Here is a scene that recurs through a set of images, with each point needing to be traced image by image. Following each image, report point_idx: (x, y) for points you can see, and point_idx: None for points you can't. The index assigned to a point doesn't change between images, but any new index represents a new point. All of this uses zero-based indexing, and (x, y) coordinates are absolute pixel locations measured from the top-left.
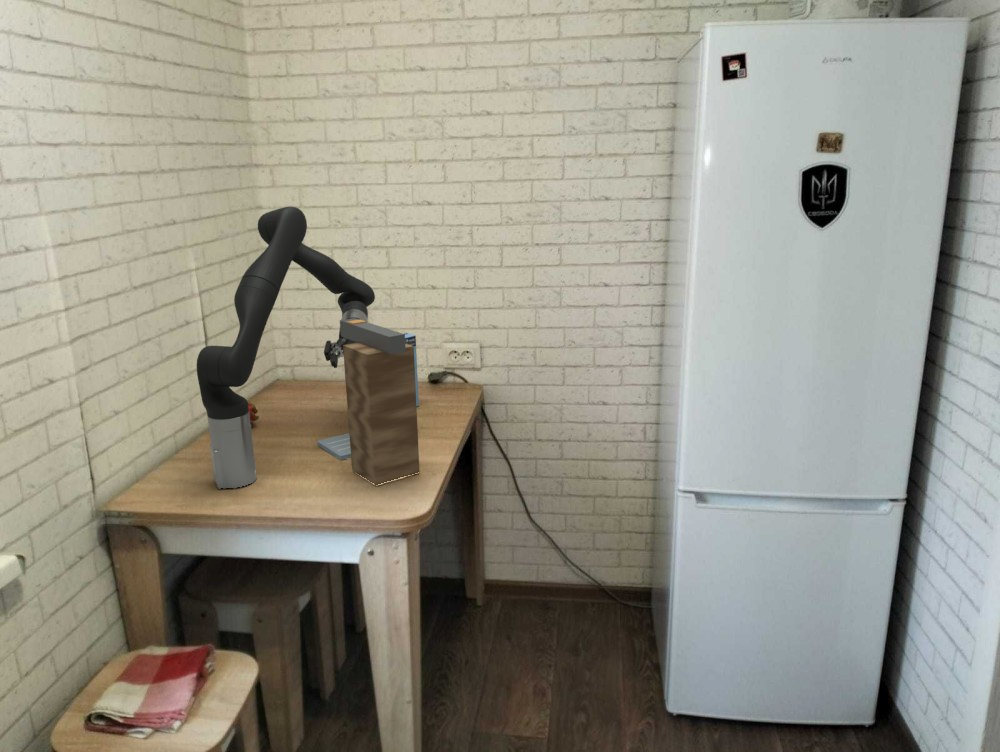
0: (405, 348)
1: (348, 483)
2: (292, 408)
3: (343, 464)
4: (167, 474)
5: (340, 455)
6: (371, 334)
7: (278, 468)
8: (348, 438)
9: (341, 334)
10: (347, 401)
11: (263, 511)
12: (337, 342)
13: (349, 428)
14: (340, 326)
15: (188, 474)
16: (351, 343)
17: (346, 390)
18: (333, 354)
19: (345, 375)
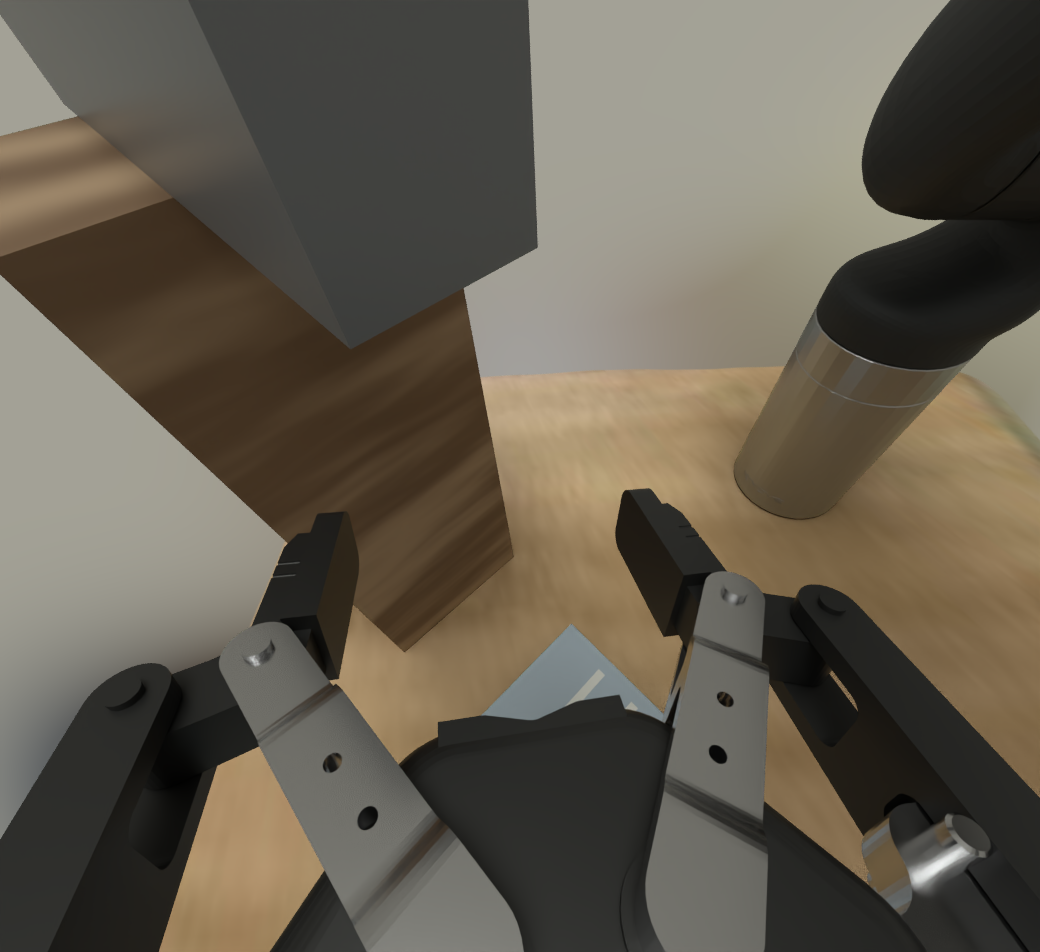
0: (48, 81)
1: (503, 492)
2: None
3: (553, 600)
4: (1012, 499)
5: (574, 629)
6: None
7: (731, 558)
8: None
9: (519, 210)
10: (484, 414)
11: (628, 380)
12: (873, 894)
13: (498, 483)
14: (522, 67)
15: (953, 503)
16: (545, 769)
17: (478, 377)
18: (698, 562)
19: (465, 313)
